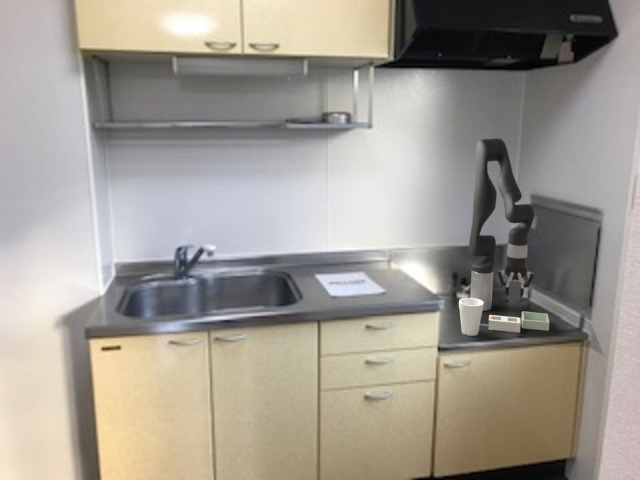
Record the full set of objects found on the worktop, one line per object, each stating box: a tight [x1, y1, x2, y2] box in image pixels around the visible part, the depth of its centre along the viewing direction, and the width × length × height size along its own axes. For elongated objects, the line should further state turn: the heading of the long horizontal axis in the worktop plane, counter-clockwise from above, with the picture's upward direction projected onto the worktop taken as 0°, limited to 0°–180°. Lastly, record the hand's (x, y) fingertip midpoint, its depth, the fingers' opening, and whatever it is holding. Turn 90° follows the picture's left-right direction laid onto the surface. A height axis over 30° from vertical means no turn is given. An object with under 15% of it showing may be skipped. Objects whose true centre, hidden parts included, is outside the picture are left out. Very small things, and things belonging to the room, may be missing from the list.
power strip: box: [479, 314, 522, 334], centre depth 218 cm, size 6×18×4 cm, turn 72°
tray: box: [520, 311, 550, 332], centre depth 220 cm, size 10×10×4 cm
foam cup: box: [458, 297, 484, 337], centre depth 213 cm, size 10×9×13 cm
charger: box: [507, 280, 521, 305], centre depth 213 cm, size 6×4×9 cm
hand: (514, 295), depth 213 cm, fingers closed on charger, 4 cm apart
